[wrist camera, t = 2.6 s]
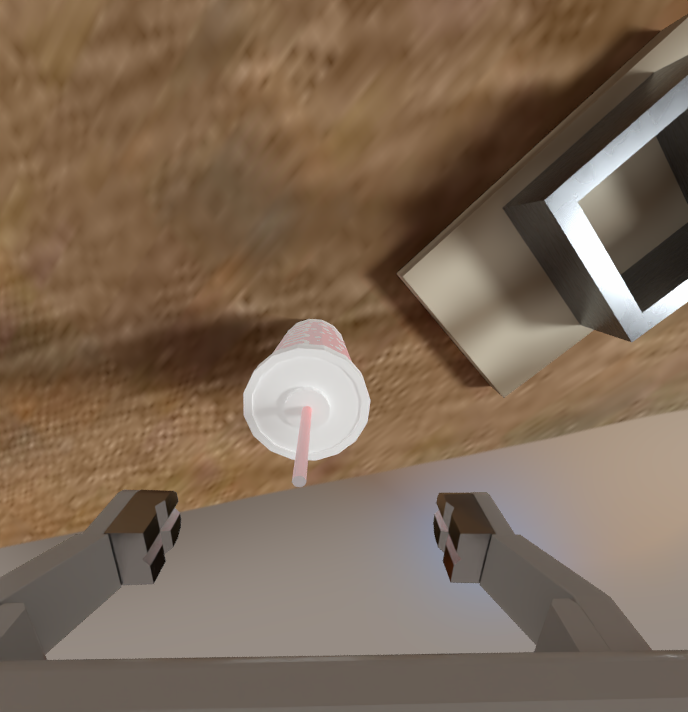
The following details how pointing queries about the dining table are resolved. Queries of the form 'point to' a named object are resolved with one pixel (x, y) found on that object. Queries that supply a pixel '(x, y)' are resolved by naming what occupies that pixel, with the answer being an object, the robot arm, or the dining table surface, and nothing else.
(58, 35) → the dining table surface
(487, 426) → the dining table surface
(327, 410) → the beverage cup
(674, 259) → the cup collar
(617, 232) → the socket board
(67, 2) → the dining table surface
